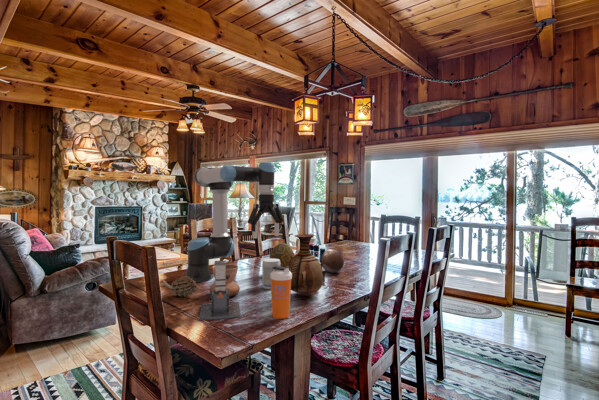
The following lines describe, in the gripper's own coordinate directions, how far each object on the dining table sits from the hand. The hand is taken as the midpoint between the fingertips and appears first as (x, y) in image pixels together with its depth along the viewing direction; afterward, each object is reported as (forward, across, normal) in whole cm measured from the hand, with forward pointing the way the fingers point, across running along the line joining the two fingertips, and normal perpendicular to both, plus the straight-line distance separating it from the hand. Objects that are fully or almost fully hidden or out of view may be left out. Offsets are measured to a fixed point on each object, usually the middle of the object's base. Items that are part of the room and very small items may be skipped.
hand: (265, 237), depth 161 cm
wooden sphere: (+29, +59, +8) cm, 66 cm away
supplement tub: (+29, +10, +7) cm, 31 cm away
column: (+27, -29, -6) cm, 40 cm away
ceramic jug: (+29, -15, +13) cm, 35 cm away
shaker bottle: (+29, -12, -26) cm, 41 cm away
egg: (+29, +30, +22) cm, 47 cm away
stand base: (+28, -29, -6) cm, 41 cm away
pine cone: (+29, -33, +27) cm, 51 cm away
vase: (+29, +13, -14) cm, 34 cm away
